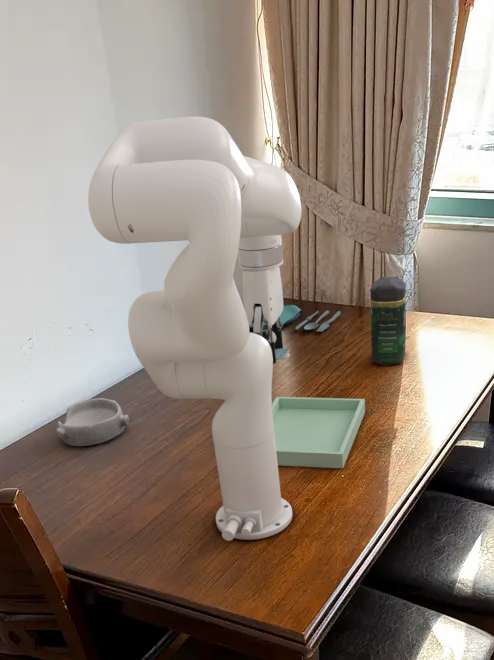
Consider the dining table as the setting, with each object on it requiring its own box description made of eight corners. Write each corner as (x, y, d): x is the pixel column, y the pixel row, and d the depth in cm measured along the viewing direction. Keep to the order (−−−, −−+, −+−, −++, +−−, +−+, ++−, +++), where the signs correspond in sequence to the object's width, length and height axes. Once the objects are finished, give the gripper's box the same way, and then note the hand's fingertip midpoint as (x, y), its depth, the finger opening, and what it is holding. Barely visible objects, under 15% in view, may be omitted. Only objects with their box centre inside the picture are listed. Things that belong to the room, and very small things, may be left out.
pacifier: (256, 354, 146) (248, 365, 141) (253, 321, 142) (244, 332, 137) (294, 354, 144) (287, 366, 139) (292, 321, 141) (284, 332, 136)
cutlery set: (249, 308, 224) (248, 300, 222) (346, 314, 212) (345, 306, 210) (215, 331, 209) (214, 323, 208) (316, 339, 197) (316, 331, 196)
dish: (61, 454, 154) (55, 431, 151) (59, 426, 165) (53, 404, 163) (133, 440, 156) (128, 417, 154) (127, 413, 168) (122, 392, 165)
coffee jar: (404, 366, 177) (403, 285, 167) (369, 366, 178) (367, 286, 169) (407, 351, 185) (407, 273, 175) (374, 351, 186) (372, 274, 177)
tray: (343, 468, 139) (342, 454, 138) (244, 463, 144) (242, 449, 142) (365, 412, 158) (364, 398, 157) (277, 409, 163) (276, 396, 161)
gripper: (252, 244, 139) (262, 341, 149) (225, 270, 126) (238, 375, 135) (293, 242, 138) (300, 341, 147) (269, 269, 124) (280, 376, 134)
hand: (271, 356), depth 141 cm, fingers closed on pacifier, 4 cm apart
